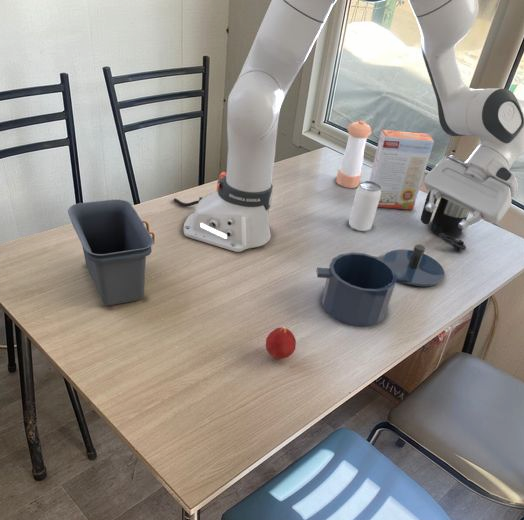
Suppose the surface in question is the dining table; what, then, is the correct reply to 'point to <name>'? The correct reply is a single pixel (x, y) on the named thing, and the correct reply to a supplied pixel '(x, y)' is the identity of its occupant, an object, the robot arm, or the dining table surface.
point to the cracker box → (400, 167)
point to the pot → (358, 288)
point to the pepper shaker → (353, 155)
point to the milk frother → (446, 221)
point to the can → (365, 206)
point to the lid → (415, 266)
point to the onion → (280, 343)
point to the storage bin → (113, 248)
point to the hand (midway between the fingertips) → (444, 218)
